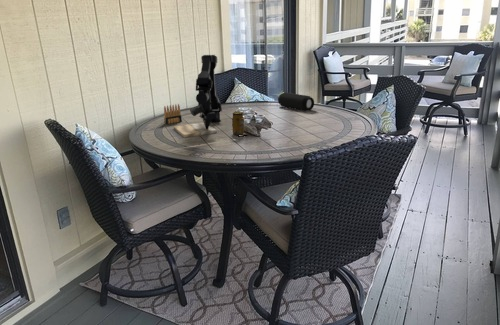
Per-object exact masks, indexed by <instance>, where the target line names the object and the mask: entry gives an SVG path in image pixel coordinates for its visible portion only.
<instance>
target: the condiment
mask: <svg viewBox="0 0 500 325" xmlns="http://www.w3.org/2000/svg"><path fill="white" fill-rule="evenodd" d="M243 114H244V113H243V112H241V111H233V113H232V118H231V120H232V121H231V123H232V125H231V126H232V132H231V134H232V135H234V136H235V137H237V136H239V135H243V134H245V128H244V127H245V124H244V123H245V122H244V116H243Z"/></svg>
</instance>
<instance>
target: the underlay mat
mask: <svg viewBox="0 0 500 325" xmlns="http://www.w3.org/2000/svg"><path fill="white" fill-rule="evenodd" d="M167 130H168V131H169V132H170V133H171V134H173V135H174V136H175V137H176V138H178V139H179V140H181V139H189V138H195V137H202V136H209V135H214V134H221V132H220V131H219V130H217V133H211V134H204V135H198V136H191V137H185V138H184V137H183V136H182V135H180V134H179V133H178V132H177V131H175V130H174V128H170V129H169V128H168V129H167Z"/></svg>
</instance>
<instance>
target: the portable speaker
mask: <svg viewBox="0 0 500 325" xmlns="http://www.w3.org/2000/svg"><path fill="white" fill-rule="evenodd" d="M277 103H278V104H279V106H281V107H283V108H286V107H288V108H287V109H292V108H293V110H297V109H298V110H299V111H305V112H308V111H311V110H313V108H314V105H315V100H314V98H313V97H312V96H310V95H304V94H300V93H299V94H298V93H292V92H286V91H285V92H283V93H282V92H281V93H280V94H279V95H278V98H277Z"/></svg>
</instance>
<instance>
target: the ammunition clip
mask: <svg viewBox="0 0 500 325" xmlns="http://www.w3.org/2000/svg"><path fill="white" fill-rule="evenodd" d="M163 110H164V111H163V116H164V117H163V121H164V122H163V123H164V125H171V124H176V123H183V119H182V113H181V106H180V103H177V104H176V103H175V104H172V105H171V104H170V105H169V106H168V104H167V105H164V107H163Z"/></svg>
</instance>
